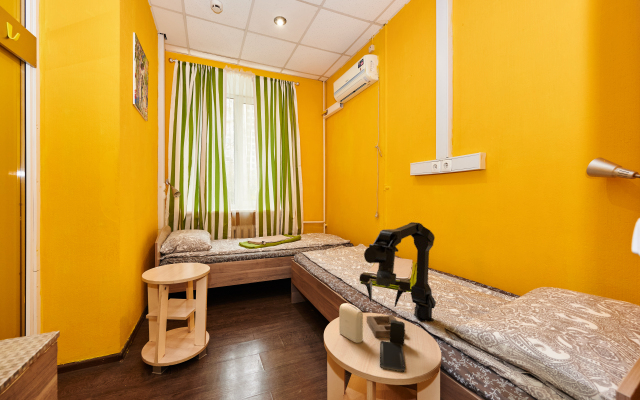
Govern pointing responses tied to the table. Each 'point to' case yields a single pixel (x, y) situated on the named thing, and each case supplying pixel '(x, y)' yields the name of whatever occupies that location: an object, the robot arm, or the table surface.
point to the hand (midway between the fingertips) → (382, 303)
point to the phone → (392, 356)
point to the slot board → (380, 329)
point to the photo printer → (351, 322)
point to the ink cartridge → (397, 332)
